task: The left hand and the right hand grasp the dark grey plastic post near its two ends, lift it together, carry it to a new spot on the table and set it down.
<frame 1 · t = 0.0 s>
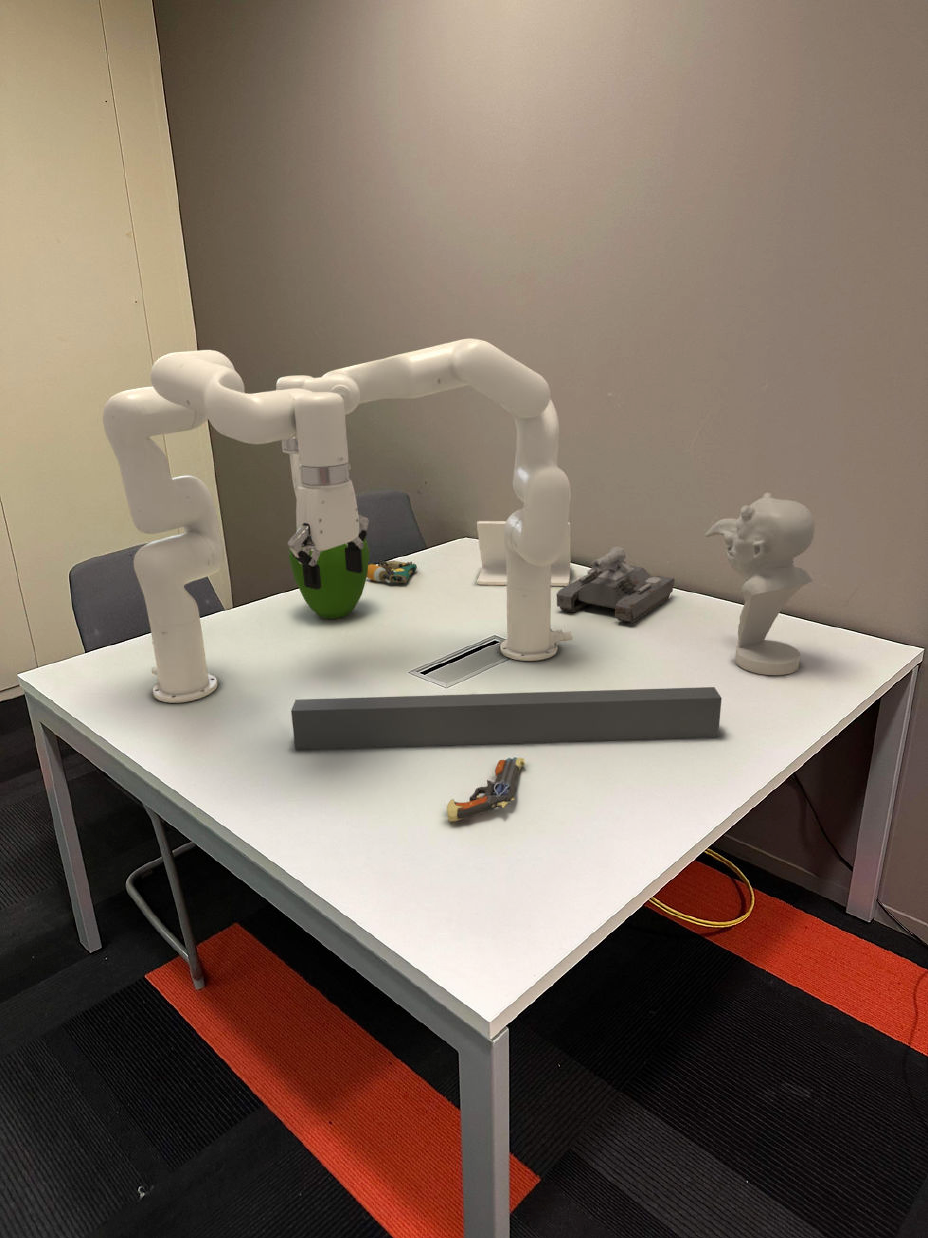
left hand: (334, 579, 139), 31 cm above the table, tool pointing down, fingers open, 9 cm apart
right hand: (310, 530, 169), 31 cm above the table, tool pointing down, fingers open, 9 cm apart
toy gun: (487, 794, 135), on the table
bust sculpture: (748, 660, 180), on the table
vase: (334, 614, 214), on the table
tablet stand: (525, 575, 239), on the table
post: (506, 737, 152), on the table
spray gun: (394, 577, 241), on the table
toy: (615, 605, 214), on the table
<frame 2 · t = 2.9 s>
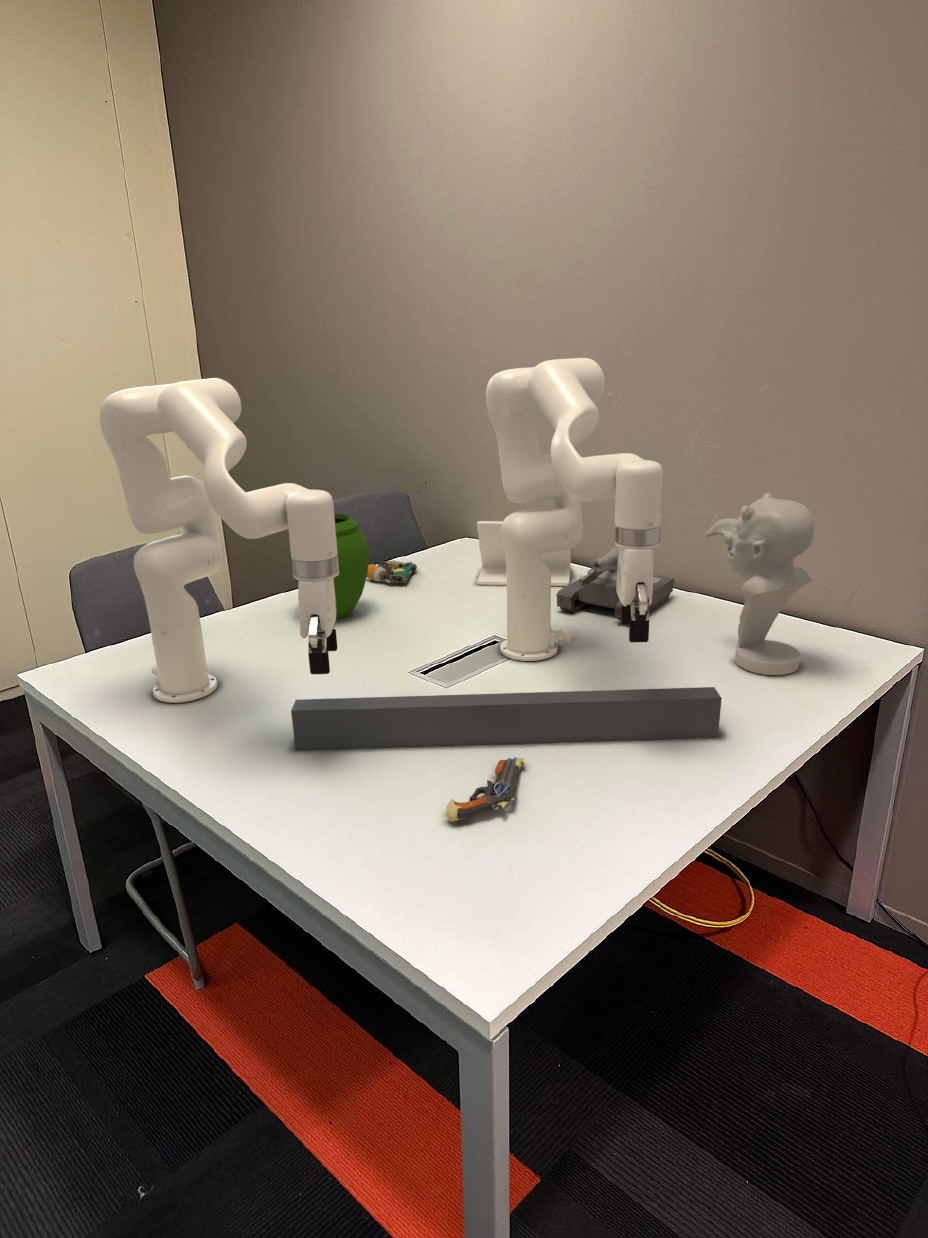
left hand: (324, 661, 146), 16 cm above the table, tool pointing down, fingers open, 9 cm apart
right hand: (634, 631, 148), 18 cm above the table, tool pointing down, fingers open, 9 cm apart
nothing on the table moved.
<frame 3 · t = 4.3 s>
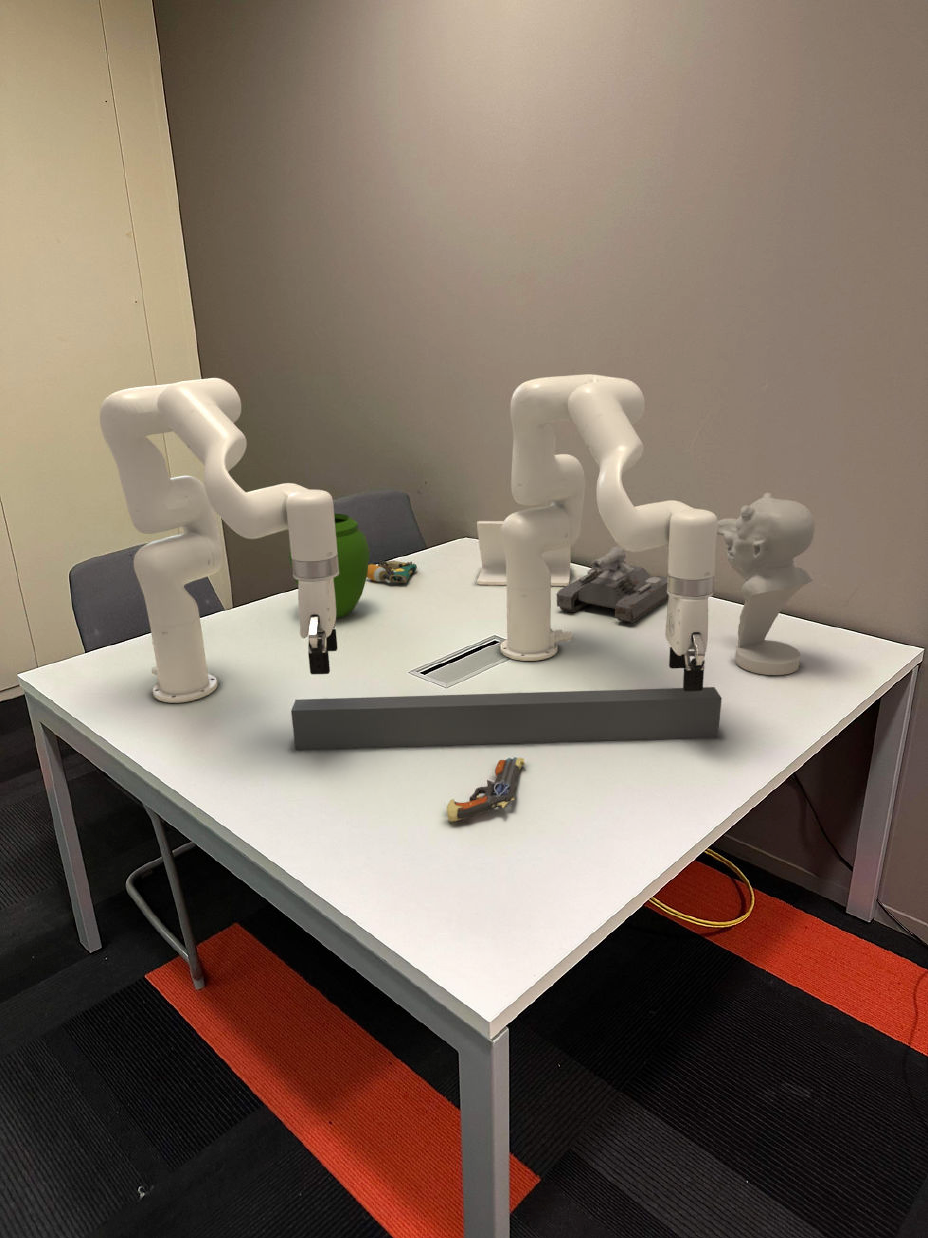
left hand: (324, 661, 146), 16 cm above the table, tool pointing down, fingers open, 9 cm apart
right hand: (685, 678, 148), 11 cm above the table, tool pointing down, fingers open, 9 cm apart
nothing on the table moved.
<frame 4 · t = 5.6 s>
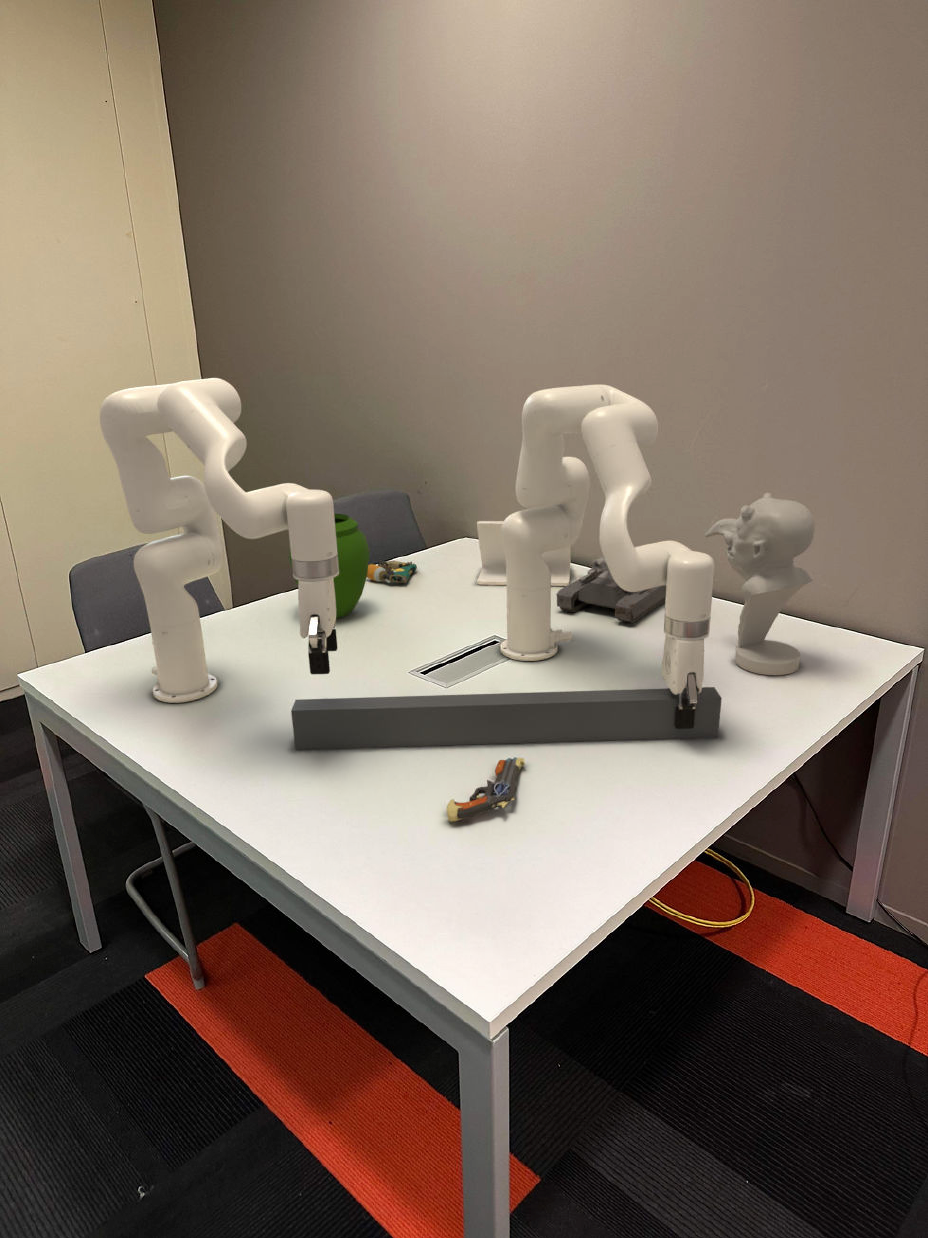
left hand: (324, 661, 146), 16 cm above the table, tool pointing down, fingers open, 9 cm apart
right hand: (680, 720, 151), 2 cm above the table, tool pointing down, fingers closed on post, 4 cm apart
post: (506, 737, 152), on the table, touching right hand
everything else where it was.
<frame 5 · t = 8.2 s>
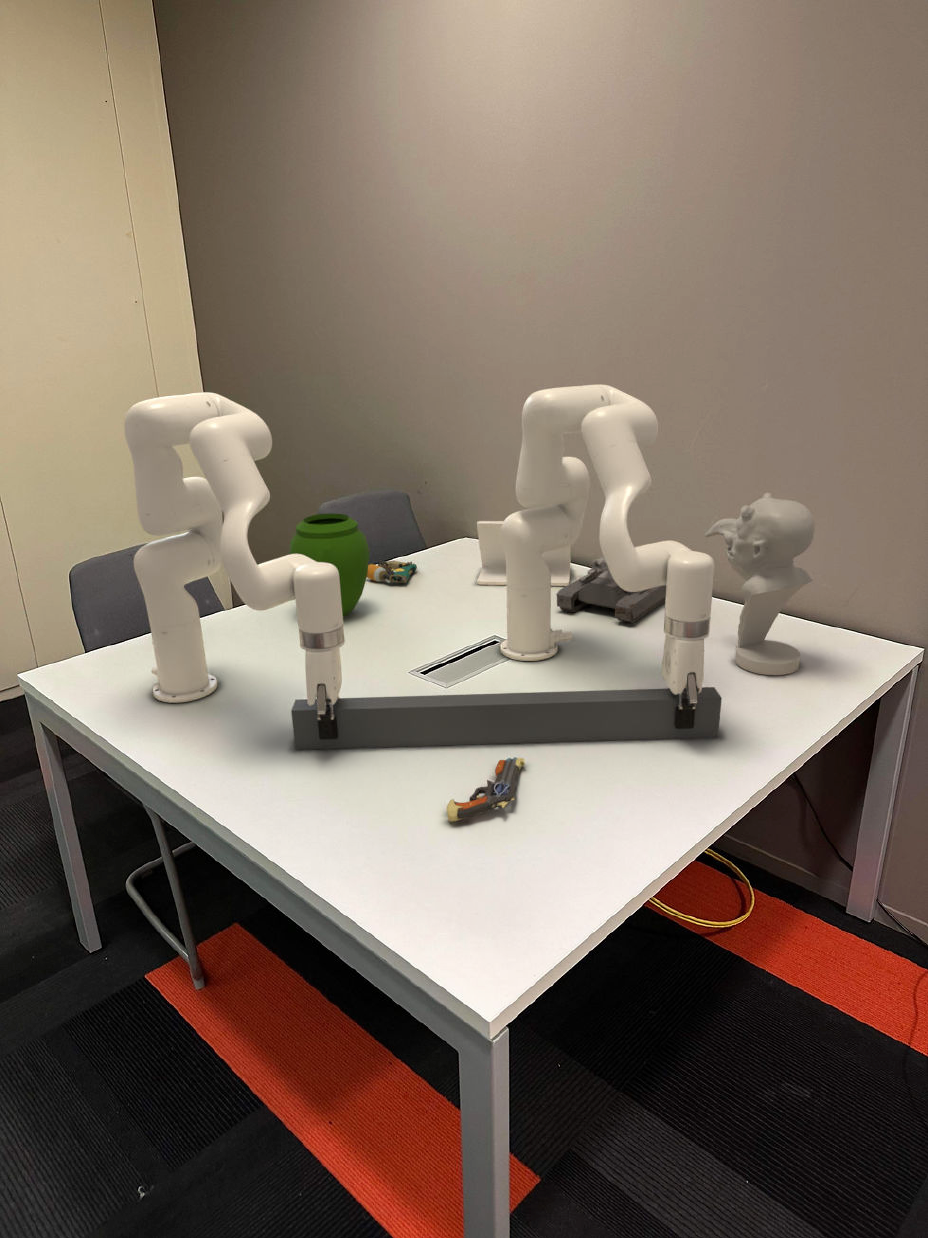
left hand: (330, 730, 151), 2 cm above the table, tool pointing down, fingers closed on post, 4 cm apart
right hand: (680, 720, 151), 2 cm above the table, tool pointing down, fingers closed on post, 4 cm apart
post: (506, 737, 152), on the table, touching right hand, left hand
everything else where it was.
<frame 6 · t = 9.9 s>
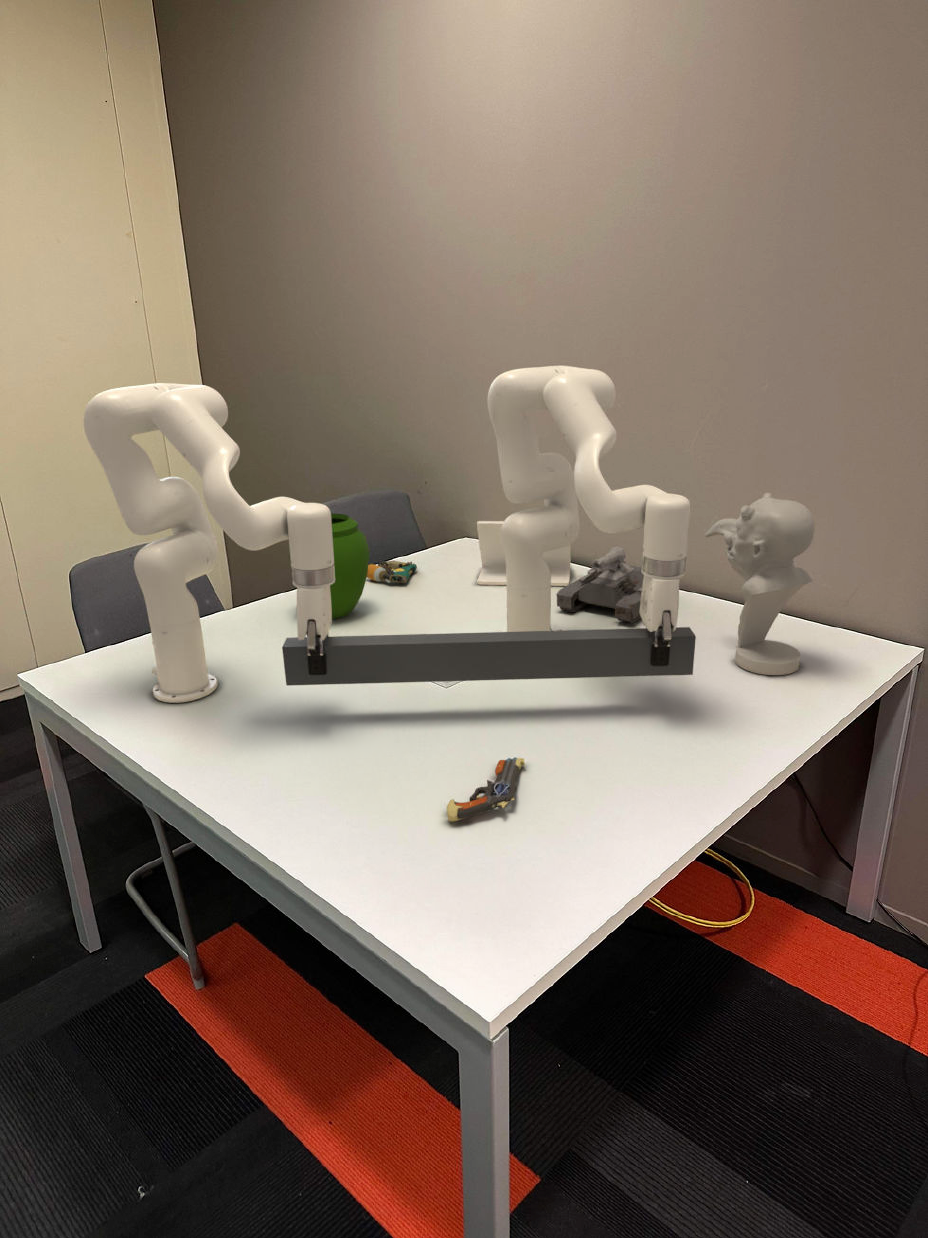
left hand: (320, 667, 157), 11 cm above the table, tool pointing down, fingers closed on post, 4 cm apart
right hand: (656, 658, 157), 10 cm above the table, tool pointing down, fingers closed on post, 4 cm apart
post: (489, 675, 158), point 8 cm above the table, touching right hand, left hand
everything else where it was.
when the left hand's fingers open (3 cm above the table, at t = 11.7 s): post stays where it is, on the table.
when the right hand's fingers open (3 cm above the table, at t = 11.7 s): post stays where it is, on the table.
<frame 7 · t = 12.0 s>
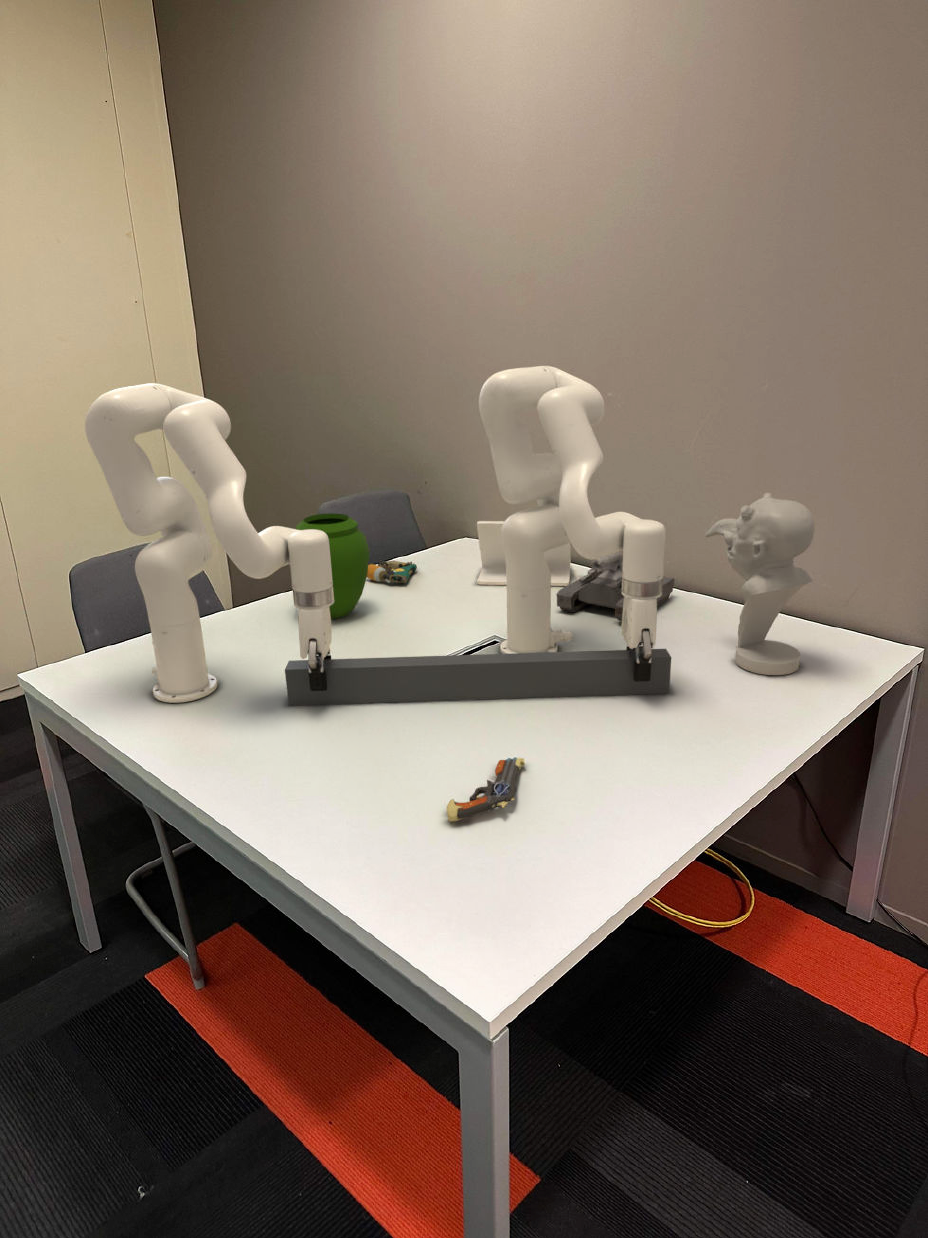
left hand: (321, 681, 167), 4 cm above the table, tool pointing down, fingers open, 6 cm apart
right hand: (637, 672, 167), 4 cm above the table, tool pointing down, fingers open, 6 cm apart
post: (478, 694, 168), on the table
everything else where it was.
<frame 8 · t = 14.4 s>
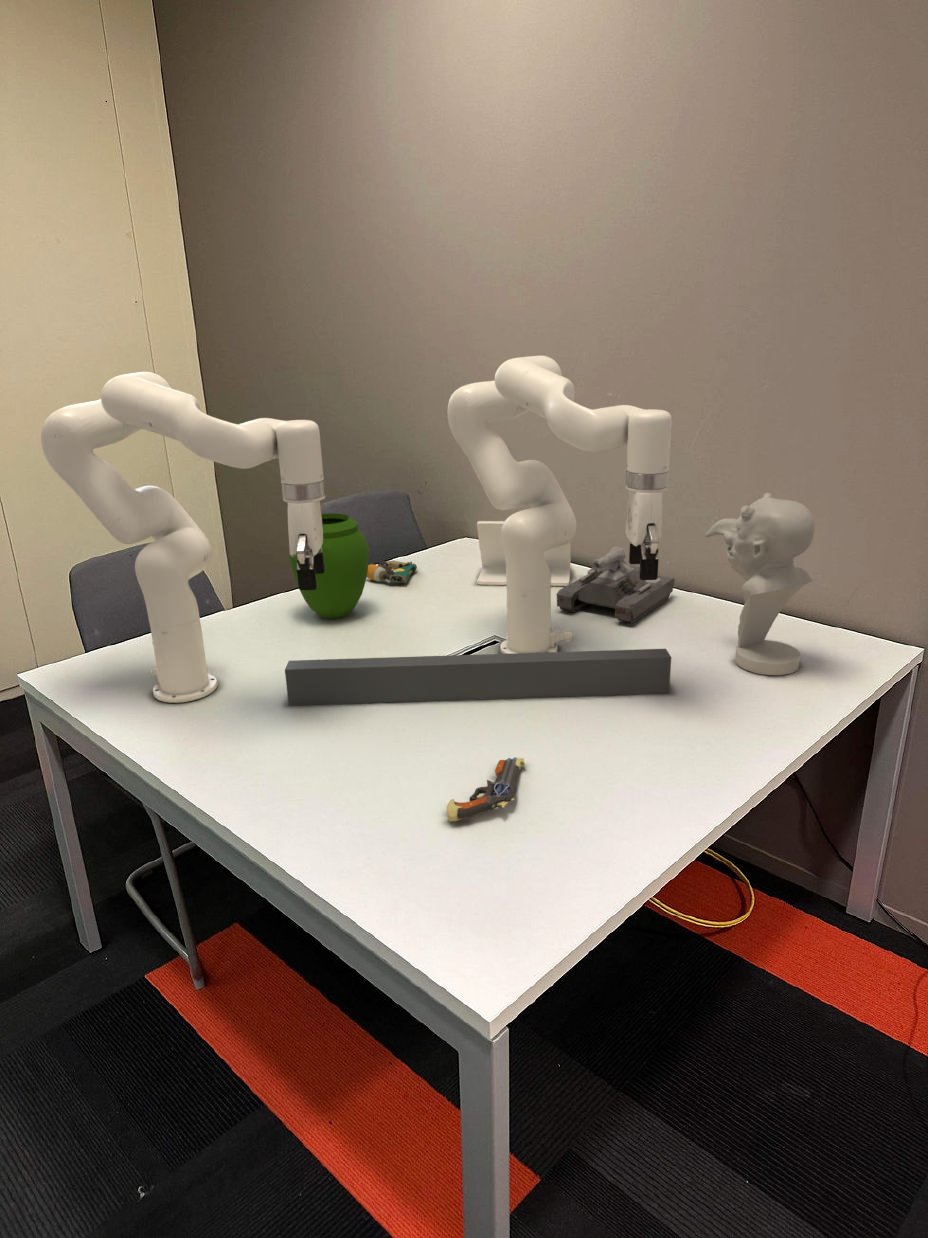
left hand: (312, 581, 160), 25 cm above the table, tool pointing down, fingers open, 9 cm apart
right hand: (642, 571, 159), 25 cm above the table, tool pointing down, fingers open, 9 cm apart
nothing on the table moved.
at the end: post inside the target area (0.4 cm from its centre), on the table; post tilted 0°; post never tilted more than 2° during the clip; both hands held the post at the same time; the left hand is holding nothing; the right hand is holding nothing; post at rest at the end (0.0 cm/s) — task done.
